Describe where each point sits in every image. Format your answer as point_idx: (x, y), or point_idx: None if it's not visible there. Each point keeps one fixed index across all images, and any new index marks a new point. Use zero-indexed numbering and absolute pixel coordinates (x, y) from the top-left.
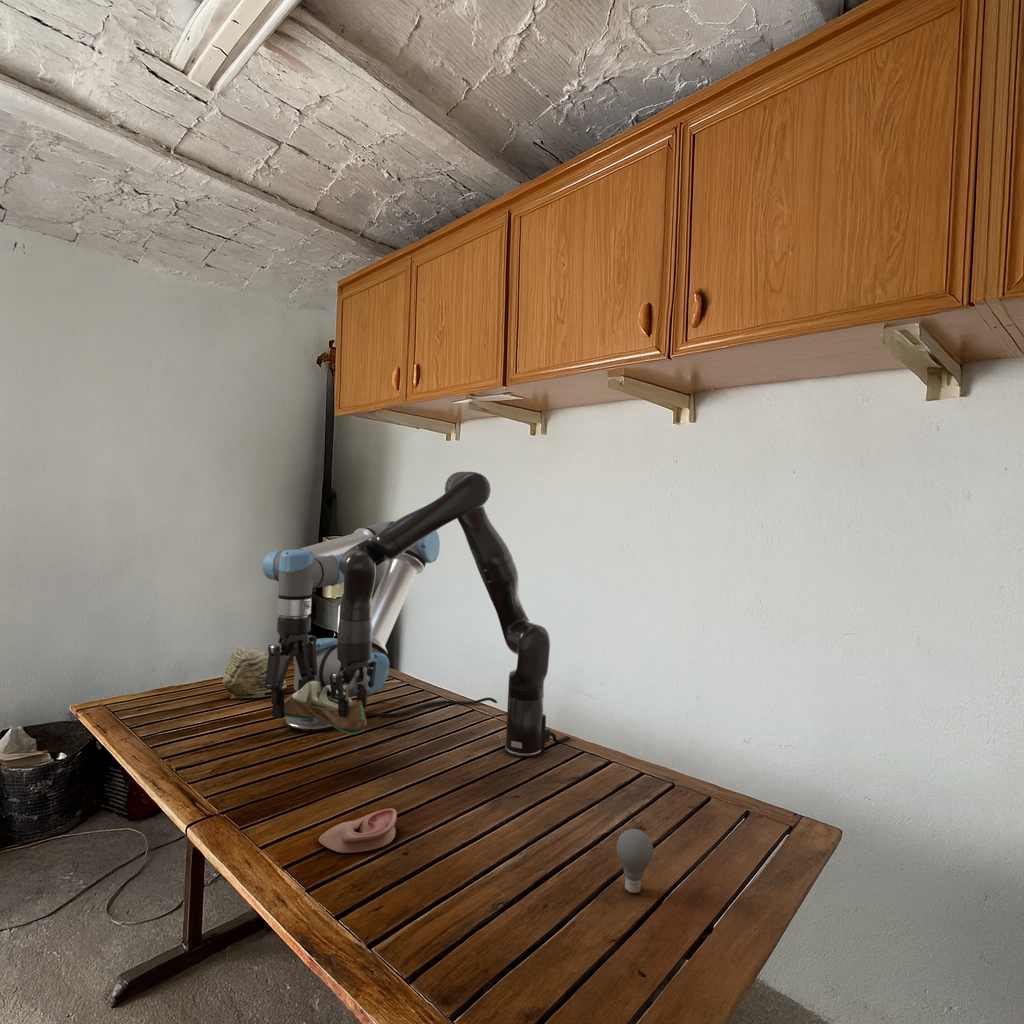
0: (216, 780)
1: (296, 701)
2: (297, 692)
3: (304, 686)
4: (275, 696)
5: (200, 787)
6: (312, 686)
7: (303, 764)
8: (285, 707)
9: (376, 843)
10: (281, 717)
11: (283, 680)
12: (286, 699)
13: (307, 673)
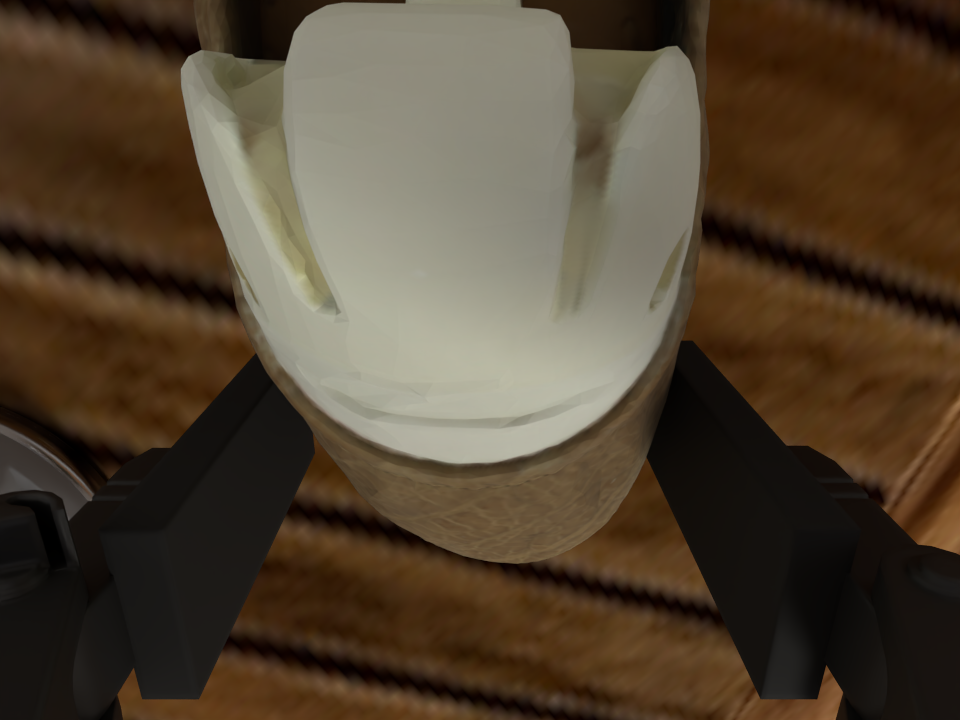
0: (817, 423)
1: (696, 240)
2: (614, 350)
3: (658, 210)
4: (886, 525)
5: (907, 427)
6: (549, 11)
7: None
8: (668, 378)
9: None
10: (693, 343)
11: (951, 696)
12: (581, 478)
13: (50, 676)
